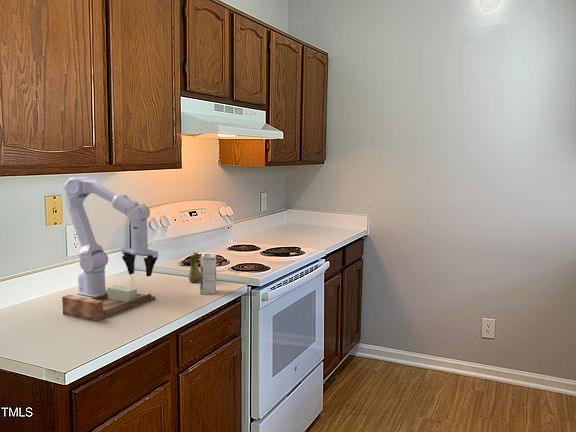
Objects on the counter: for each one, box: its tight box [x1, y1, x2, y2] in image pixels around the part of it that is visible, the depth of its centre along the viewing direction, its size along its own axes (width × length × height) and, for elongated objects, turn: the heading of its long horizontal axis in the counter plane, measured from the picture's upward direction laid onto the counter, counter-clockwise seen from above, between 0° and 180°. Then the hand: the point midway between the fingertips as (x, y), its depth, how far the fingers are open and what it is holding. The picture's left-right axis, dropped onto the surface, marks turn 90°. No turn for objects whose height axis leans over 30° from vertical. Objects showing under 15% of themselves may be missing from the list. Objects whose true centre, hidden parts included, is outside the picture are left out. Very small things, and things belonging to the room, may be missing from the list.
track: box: [61, 293, 156, 322], centre depth 186 cm, size 15×28×6 cm, turn 153°
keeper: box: [106, 284, 138, 302], centre depth 191 cm, size 10×4×4 cm, turn 63°
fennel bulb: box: [188, 252, 200, 283], centre depth 220 cm, size 6×5×12 cm
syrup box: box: [199, 253, 217, 295], centre depth 205 cm, size 6×6×14 cm
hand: (140, 274), depth 197 cm, fingers open, 7 cm apart
